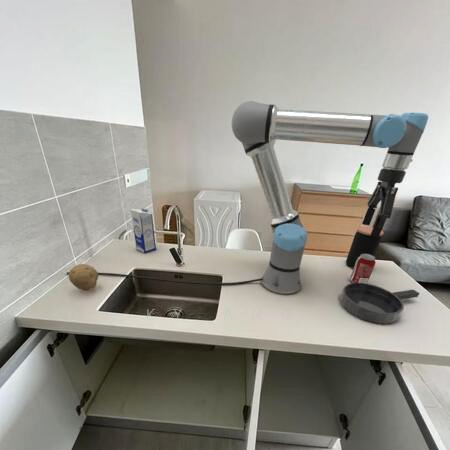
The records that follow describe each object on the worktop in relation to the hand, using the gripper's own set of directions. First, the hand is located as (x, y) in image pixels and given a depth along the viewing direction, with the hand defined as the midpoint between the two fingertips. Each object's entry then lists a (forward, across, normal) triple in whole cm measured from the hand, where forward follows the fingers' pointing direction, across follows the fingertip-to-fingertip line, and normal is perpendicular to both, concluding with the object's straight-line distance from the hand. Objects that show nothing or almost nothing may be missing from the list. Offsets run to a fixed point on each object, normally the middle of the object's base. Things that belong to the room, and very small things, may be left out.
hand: (369, 230), depth 93 cm
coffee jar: (+23, +16, -6) cm, 29 cm away
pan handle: (+20, -12, -16) cm, 28 cm away
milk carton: (+24, -2, +96) cm, 99 cm away
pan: (+22, -19, -3) cm, 30 cm away
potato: (+24, -40, +98) cm, 108 cm away
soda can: (+23, 0, -3) cm, 23 cm away
